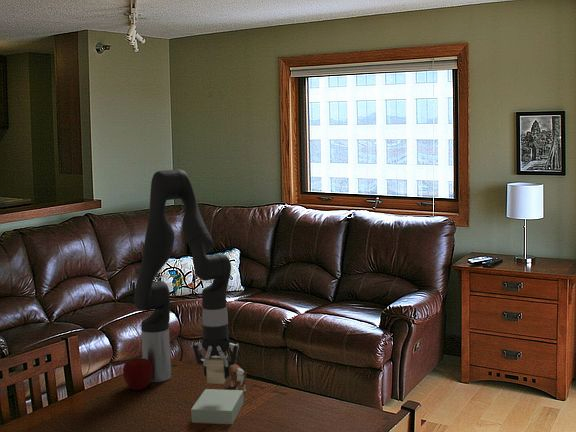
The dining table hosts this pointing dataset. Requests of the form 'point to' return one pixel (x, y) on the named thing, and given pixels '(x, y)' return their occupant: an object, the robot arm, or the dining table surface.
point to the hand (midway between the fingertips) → (217, 377)
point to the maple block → (215, 370)
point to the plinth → (217, 406)
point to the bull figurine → (237, 376)
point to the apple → (138, 373)
